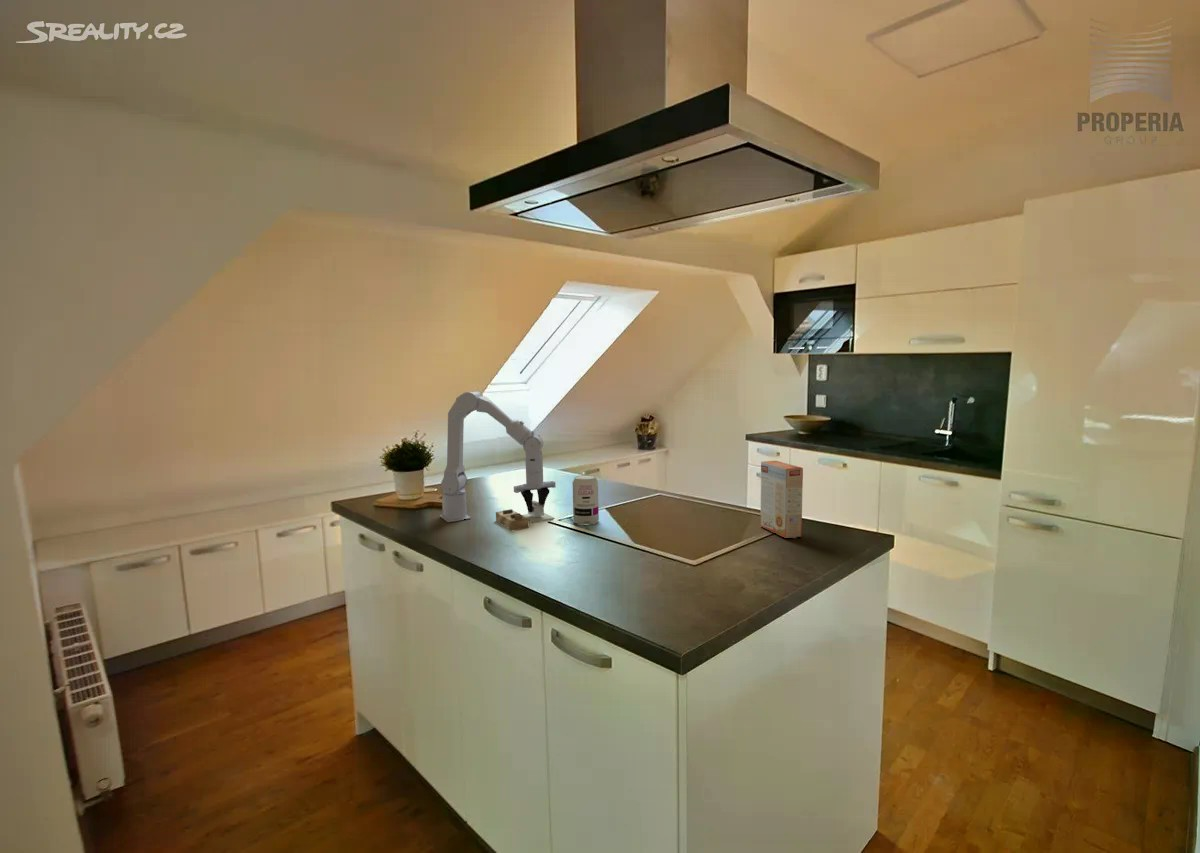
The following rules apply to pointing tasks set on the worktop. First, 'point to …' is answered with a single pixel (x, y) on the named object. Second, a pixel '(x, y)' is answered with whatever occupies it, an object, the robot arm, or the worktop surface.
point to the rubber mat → (538, 518)
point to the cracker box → (781, 498)
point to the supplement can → (585, 499)
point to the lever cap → (537, 509)
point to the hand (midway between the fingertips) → (535, 510)
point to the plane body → (512, 519)
